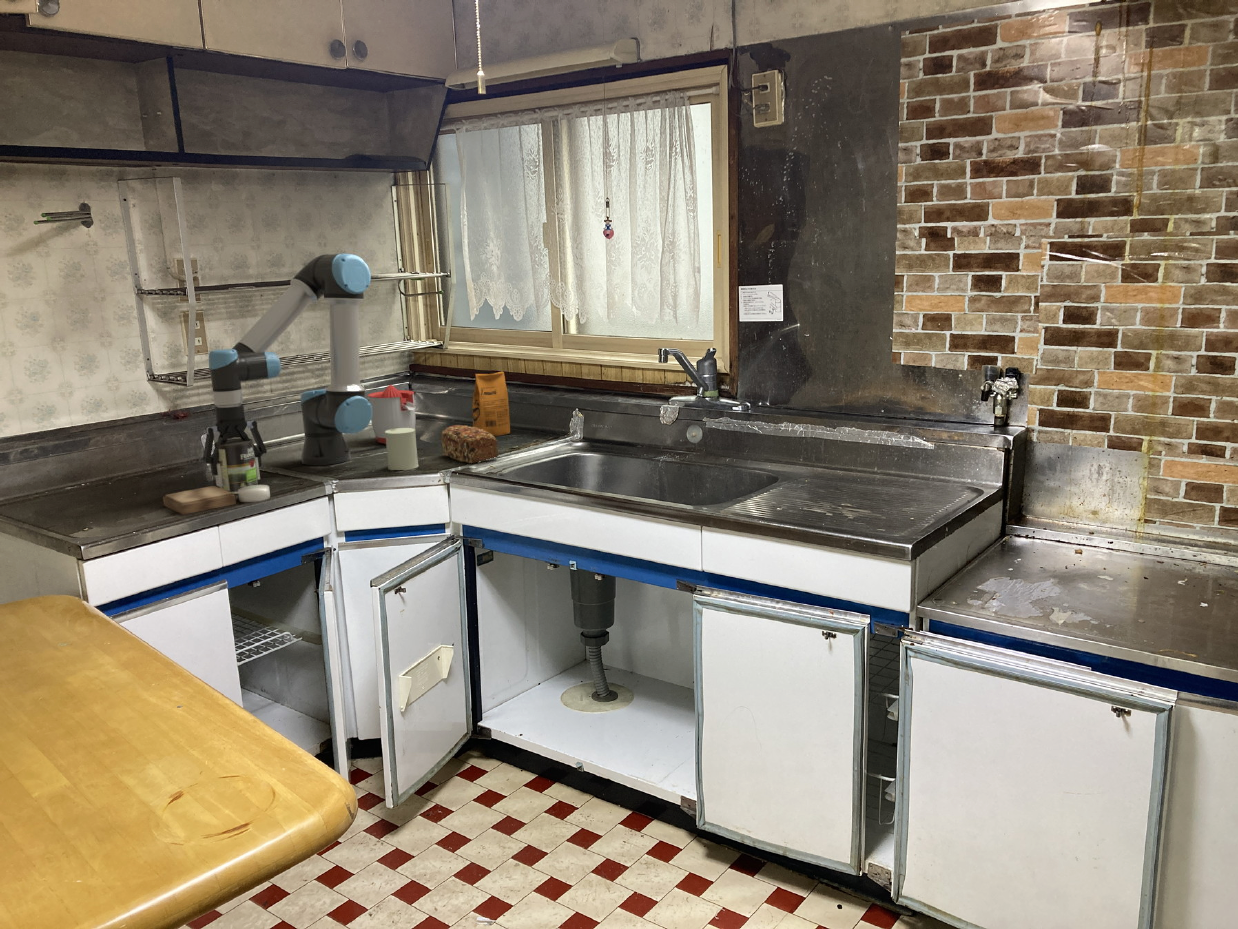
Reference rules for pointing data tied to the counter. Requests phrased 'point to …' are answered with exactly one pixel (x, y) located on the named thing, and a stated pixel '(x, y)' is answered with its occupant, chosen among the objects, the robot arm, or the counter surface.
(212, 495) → the plinth
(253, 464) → the coffee can
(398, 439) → the pale green cylinder
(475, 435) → the bread
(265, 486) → the white rounded flat block
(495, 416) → the coffee package
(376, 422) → the citrus juicer
